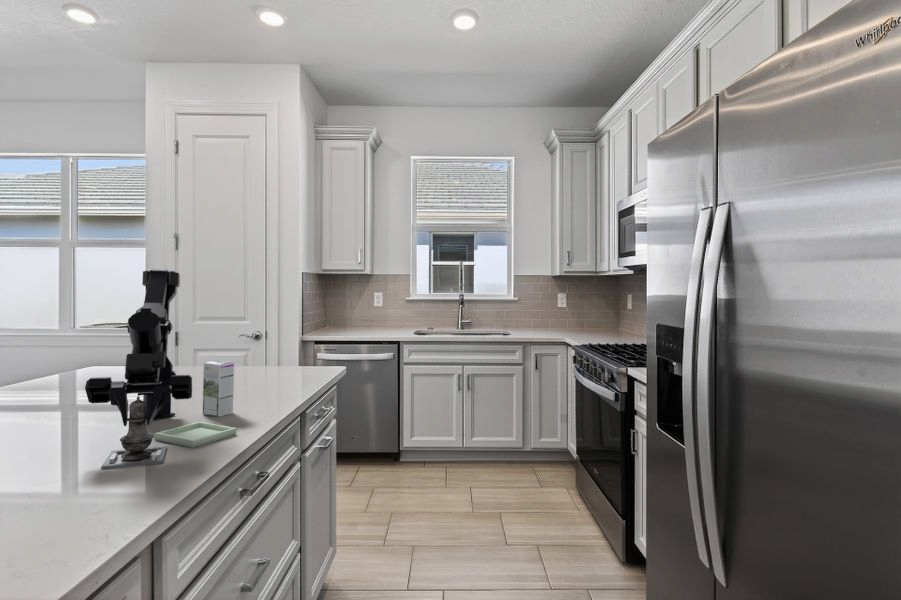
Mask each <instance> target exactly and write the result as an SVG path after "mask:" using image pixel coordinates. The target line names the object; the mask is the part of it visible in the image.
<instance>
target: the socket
mask: <svg viewBox="0 0 901 600" xmlns="http://www.w3.org/2000/svg"><path fill="white" fill-rule="evenodd" d="M146 450H149V451H151V452H156V453H155V459H152V460H141V461H131V462H120V463H115V462H116V460H117V459H118V456H119V455H123V454H124V453H125V452H128V451H126V450H125V449H116V450H115V449H114V450H111V451H110V453H109V454H108V456H107V457H106V459H105V460H104V462H103V463H102V465H101V466H100V467H101V468H100V470H107V469H116V468H117V469H118V468H128V467H139V466H150V465H159V464H160V465H161V464H163V463H164V459H165V456H166V453H167V450H168V446H167V445H165V446H154V447H148V448H147V449H146Z"/></svg>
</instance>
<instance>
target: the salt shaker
mask: <svg viewBox="0 0 901 600" xmlns="http://www.w3.org/2000/svg"><path fill="white" fill-rule="evenodd" d="M128 416H129V417H128V419H127V422H128V430H127V433H126V435H124V436H122V437H120V438H119V442H120V443H121V446H122V448H123V450H126V451H128V452H125V453H123V454H120V455H121V456H120V458H121V459H122V460H140V459H144V458H147V457H150V456H151V455H152V454H153V451H149V450H146V449H147V448H150V446H151V444H152V442H153V438H154V439H155V434H152V433H149V432H148V431H147V430H148V429H147V417H146V403H145V402H144V401H143V400H141V396H138V395H137V397H136V399H135V400H134V401H132V402H131V403H130V404H129V413H128Z"/></svg>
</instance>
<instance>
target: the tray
mask: <svg viewBox="0 0 901 600" xmlns="http://www.w3.org/2000/svg"><path fill="white" fill-rule="evenodd" d="M234 434H236V435H237V427H233V426H227V425H222V424H221V425H220V424H215V423H210V422H206V421H205V422H204V421H196V422H193V423H188V424H185V425H181V426H177V427H174V428H171V429H170V428H169V429H167V430H162V431H159V432H155V433H154V440H155V441H160V442H164V443H169V444H173V445H178V446H183V447H189V448H197V447H201V446H203V445H207V444H211V443H213V441H214V442H217V441H220V440H223V439H226V438H229V437H232V436H231V435H233V436H235V435H234ZM225 437H226V438H225ZM222 438H223V439H222ZM219 439H220V440H219ZM216 440H217V441H216Z"/></svg>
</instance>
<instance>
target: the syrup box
mask: <svg viewBox="0 0 901 600" xmlns="http://www.w3.org/2000/svg"><path fill="white" fill-rule="evenodd" d="M202 383H203V385H202V387H203V389H202V415H203V416H209V417H215V418H220V417H224V415H225V416H228V415H231V414H233V413H234V393H235V391H234V388H235V387H234V385H235V384H234V383H235V361H226V360H212V361H206V362H203V382H202ZM227 414H228V415H227Z"/></svg>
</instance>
